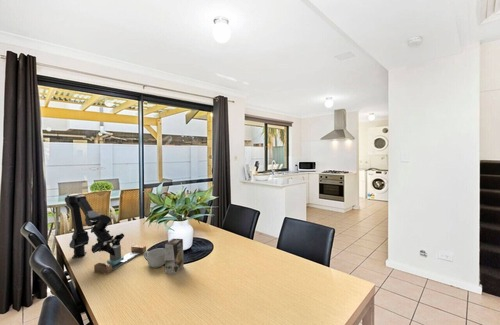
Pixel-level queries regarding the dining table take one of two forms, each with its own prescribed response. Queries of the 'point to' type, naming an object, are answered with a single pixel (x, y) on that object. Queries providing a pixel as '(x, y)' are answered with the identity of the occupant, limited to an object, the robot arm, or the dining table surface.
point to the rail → (108, 268)
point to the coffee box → (173, 256)
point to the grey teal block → (117, 256)
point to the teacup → (155, 257)
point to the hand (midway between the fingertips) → (117, 253)
